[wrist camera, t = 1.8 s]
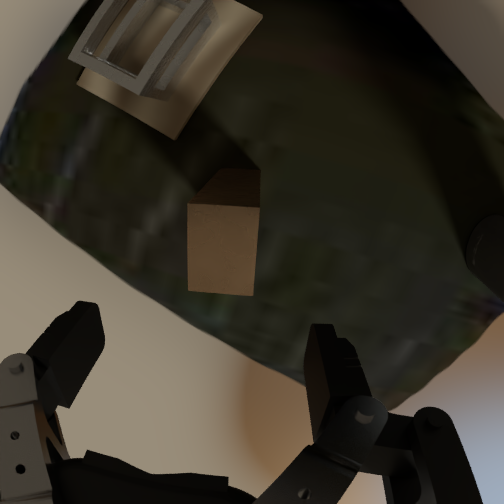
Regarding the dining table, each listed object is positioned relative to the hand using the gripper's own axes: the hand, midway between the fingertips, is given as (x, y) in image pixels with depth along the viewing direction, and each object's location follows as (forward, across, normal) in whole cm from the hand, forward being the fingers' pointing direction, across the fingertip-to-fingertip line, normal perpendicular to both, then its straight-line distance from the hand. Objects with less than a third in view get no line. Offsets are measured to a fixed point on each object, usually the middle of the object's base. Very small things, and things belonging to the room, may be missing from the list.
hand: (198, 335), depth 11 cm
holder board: (+24, +9, -16) cm, 30 cm away
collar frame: (+24, +9, -16) cm, 30 cm away
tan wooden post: (+24, 0, 0) cm, 24 cm away
